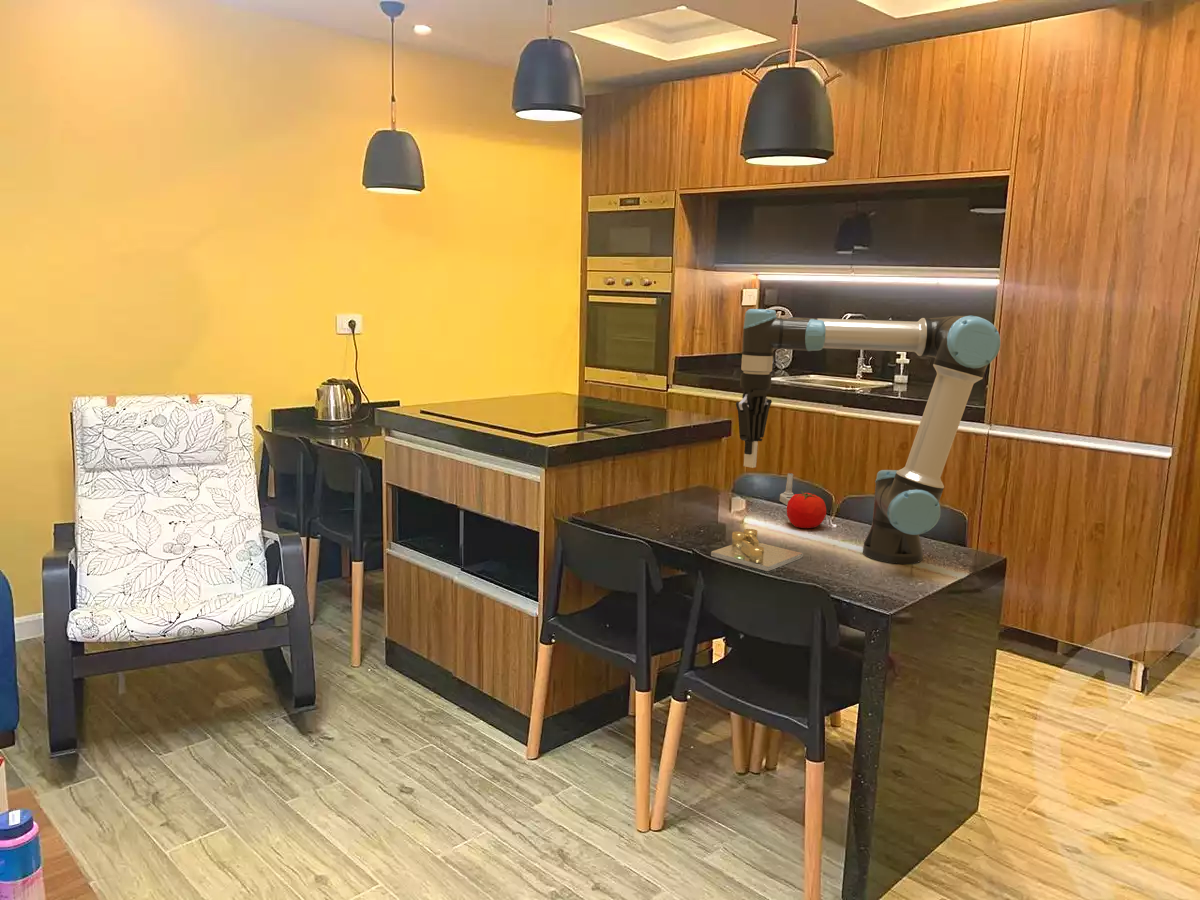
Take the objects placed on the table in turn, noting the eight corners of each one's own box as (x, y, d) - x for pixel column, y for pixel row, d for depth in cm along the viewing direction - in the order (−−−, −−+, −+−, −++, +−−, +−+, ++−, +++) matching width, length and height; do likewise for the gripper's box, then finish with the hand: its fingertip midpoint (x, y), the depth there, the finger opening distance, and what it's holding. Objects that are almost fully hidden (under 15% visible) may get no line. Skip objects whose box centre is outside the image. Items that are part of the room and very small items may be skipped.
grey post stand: (800, 483, 280) (779, 472, 294) (797, 513, 282) (776, 500, 296) (815, 483, 281) (794, 471, 295) (812, 513, 283) (791, 500, 297)
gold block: (742, 540, 241) (742, 528, 240) (755, 540, 241) (756, 529, 241) (748, 551, 231) (749, 539, 230) (762, 551, 231) (763, 539, 230)
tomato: (794, 519, 271) (796, 486, 270) (830, 526, 265) (833, 492, 263) (778, 527, 262) (780, 493, 260) (815, 534, 255) (818, 499, 254)
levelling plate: (802, 557, 232) (803, 541, 231) (767, 571, 219) (768, 554, 218) (745, 543, 243) (746, 527, 242) (709, 556, 230) (710, 539, 230)
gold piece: (765, 562, 222) (766, 549, 221) (751, 562, 221) (752, 550, 220) (749, 550, 232) (750, 538, 231) (736, 550, 231) (737, 538, 230)
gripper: (757, 370, 226) (751, 461, 231) (728, 372, 217) (722, 467, 221) (783, 372, 221) (776, 465, 226) (754, 375, 212) (748, 472, 216)
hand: (749, 466), depth 223 cm, fingers closed
